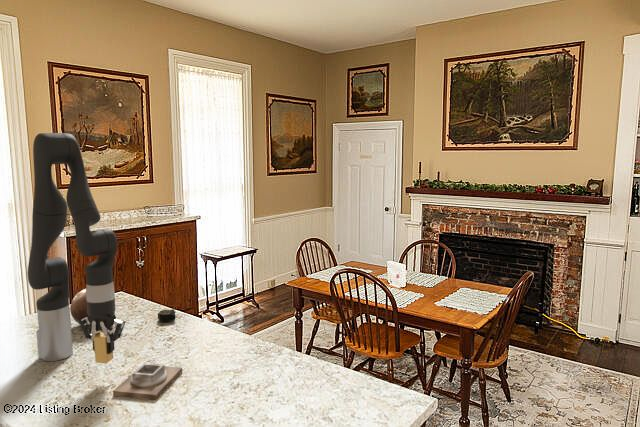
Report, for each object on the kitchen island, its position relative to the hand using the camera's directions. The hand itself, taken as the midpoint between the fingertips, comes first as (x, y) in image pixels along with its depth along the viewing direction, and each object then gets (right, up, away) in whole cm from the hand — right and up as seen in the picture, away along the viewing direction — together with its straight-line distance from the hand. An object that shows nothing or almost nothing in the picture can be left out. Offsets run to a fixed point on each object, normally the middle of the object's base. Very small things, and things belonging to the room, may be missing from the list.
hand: (104, 352), depth 137 cm
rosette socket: (+14, -9, -1) cm, 17 cm away
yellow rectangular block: (0, -3, 0) cm, 3 cm away
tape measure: (+3, -2, +49) cm, 49 cm away
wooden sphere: (-24, -3, +43) cm, 50 cm away
